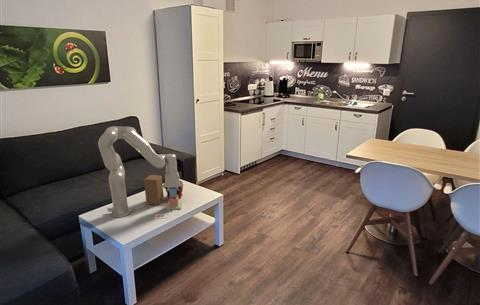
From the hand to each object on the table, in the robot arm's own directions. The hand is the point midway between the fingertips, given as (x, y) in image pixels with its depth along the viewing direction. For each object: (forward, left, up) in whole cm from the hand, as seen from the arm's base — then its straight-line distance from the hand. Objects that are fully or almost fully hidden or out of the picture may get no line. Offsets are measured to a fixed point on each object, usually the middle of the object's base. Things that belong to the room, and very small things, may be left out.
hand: (173, 194), depth 226 cm
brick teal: (0, 0, -1) cm, 1 cm away
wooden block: (-15, +9, -9) cm, 20 cm away
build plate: (0, 0, -9) cm, 9 cm away
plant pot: (-1, +16, -9) cm, 19 cm away
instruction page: (-8, -14, -9) cm, 19 cm away
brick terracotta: (0, 0, -8) cm, 8 cm away
